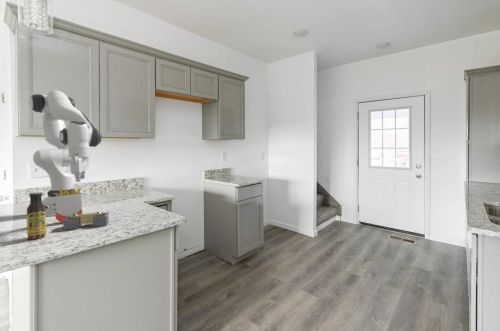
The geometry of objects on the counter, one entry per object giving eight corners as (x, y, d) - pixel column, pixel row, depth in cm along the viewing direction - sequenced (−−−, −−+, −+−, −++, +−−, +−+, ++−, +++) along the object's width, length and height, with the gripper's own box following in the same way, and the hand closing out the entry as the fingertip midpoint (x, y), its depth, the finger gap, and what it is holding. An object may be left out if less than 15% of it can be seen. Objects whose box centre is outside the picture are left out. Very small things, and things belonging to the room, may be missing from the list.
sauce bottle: (28, 241, 104) (25, 195, 102) (26, 237, 108) (23, 193, 106) (48, 237, 109) (45, 192, 107) (45, 233, 113) (42, 191, 111)
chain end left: (63, 230, 117) (62, 220, 116) (68, 225, 124) (67, 216, 124) (78, 228, 119) (77, 218, 119) (82, 224, 127) (81, 214, 126)
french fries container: (55, 223, 129) (53, 189, 127) (80, 218, 137) (78, 186, 135) (57, 224, 126) (55, 190, 124) (82, 220, 133) (80, 187, 132)
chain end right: (108, 221, 131) (108, 212, 131) (106, 225, 124) (106, 216, 124) (95, 222, 129) (95, 213, 129) (92, 227, 122) (92, 217, 121)
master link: (69, 225, 120) (69, 215, 120) (71, 223, 123) (71, 213, 122) (102, 221, 125) (102, 212, 125) (103, 220, 128) (103, 210, 128)
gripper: (82, 154, 116) (83, 183, 117) (90, 152, 135) (91, 176, 136) (65, 154, 114) (67, 184, 115) (76, 152, 132) (77, 177, 134)
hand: (80, 180), depth 126 cm, fingers open, 8 cm apart
